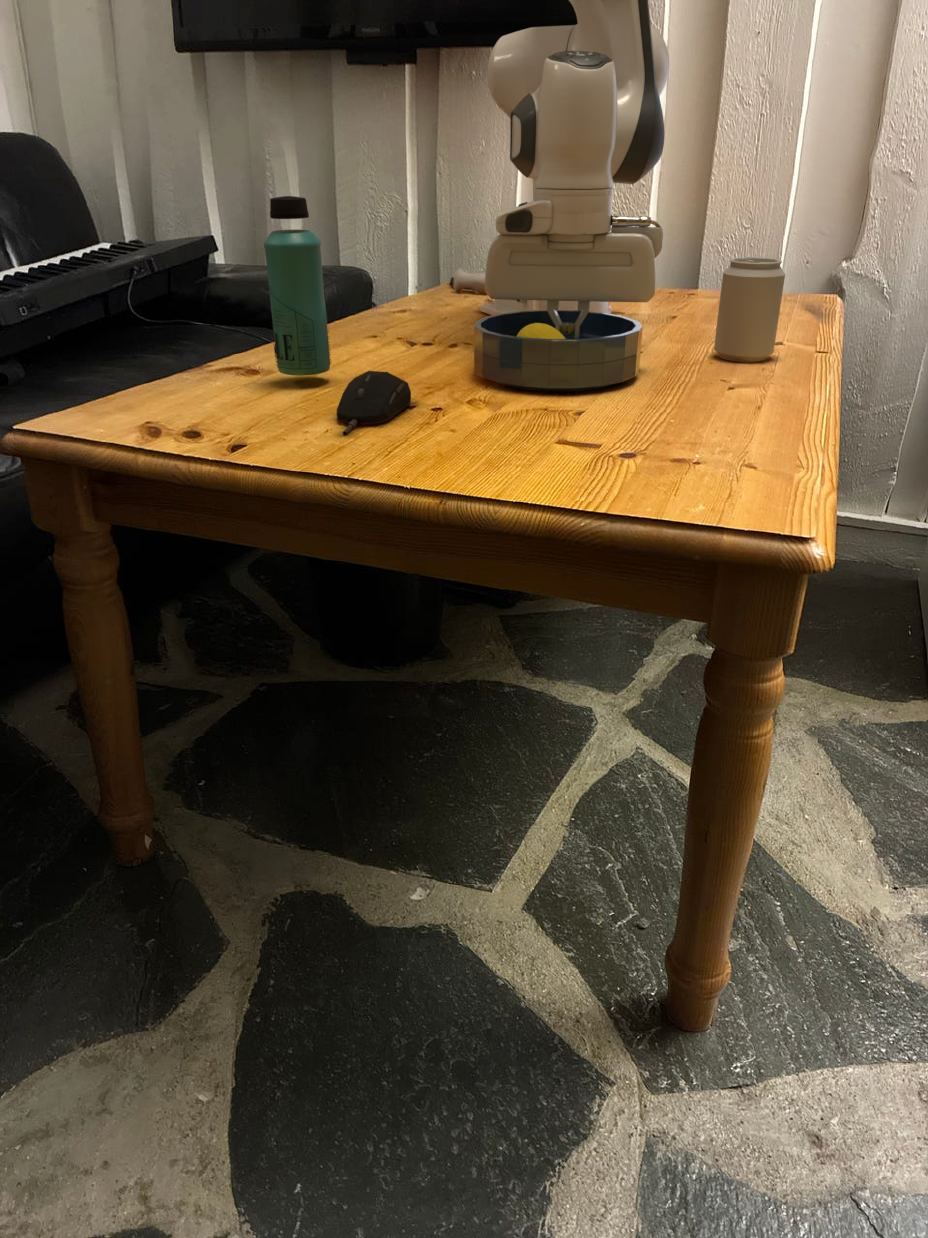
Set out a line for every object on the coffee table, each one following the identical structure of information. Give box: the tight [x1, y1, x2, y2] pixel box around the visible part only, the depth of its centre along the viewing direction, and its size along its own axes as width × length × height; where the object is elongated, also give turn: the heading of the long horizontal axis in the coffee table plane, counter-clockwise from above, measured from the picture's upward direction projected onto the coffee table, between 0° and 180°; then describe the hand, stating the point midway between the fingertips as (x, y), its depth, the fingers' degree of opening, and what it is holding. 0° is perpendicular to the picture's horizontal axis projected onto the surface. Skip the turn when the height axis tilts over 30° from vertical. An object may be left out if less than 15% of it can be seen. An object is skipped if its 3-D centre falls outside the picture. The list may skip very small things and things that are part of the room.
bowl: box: [473, 310, 644, 393], centre depth 108 cm, size 20×20×6 cm
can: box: [713, 256, 786, 363], centre depth 115 cm, size 8×8×12 cm
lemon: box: [516, 323, 565, 339], centre depth 105 cm, size 6×6×8 cm
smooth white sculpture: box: [452, 267, 487, 295], centre depth 167 cm, size 4×8×5 cm
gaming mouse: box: [336, 370, 412, 436], centre depth 93 cm, size 6×15×4 cm, turn 166°
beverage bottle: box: [263, 195, 333, 376], centre depth 102 cm, size 6×7×20 cm
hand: (567, 338), depth 111 cm, fingers closed
